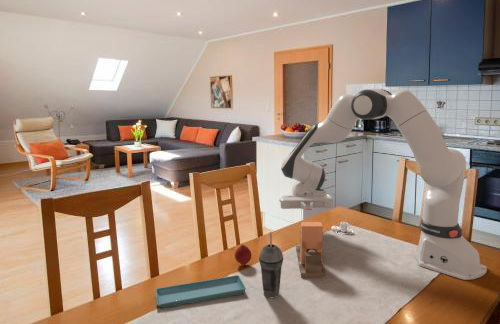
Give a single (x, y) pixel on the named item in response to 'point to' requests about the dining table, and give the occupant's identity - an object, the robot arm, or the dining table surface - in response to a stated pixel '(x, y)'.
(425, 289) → the dining table surface
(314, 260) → the pipe rig
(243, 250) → the onion
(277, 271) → the beverage cup
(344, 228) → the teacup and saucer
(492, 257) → the dining table surface
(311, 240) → the orange angular piece
